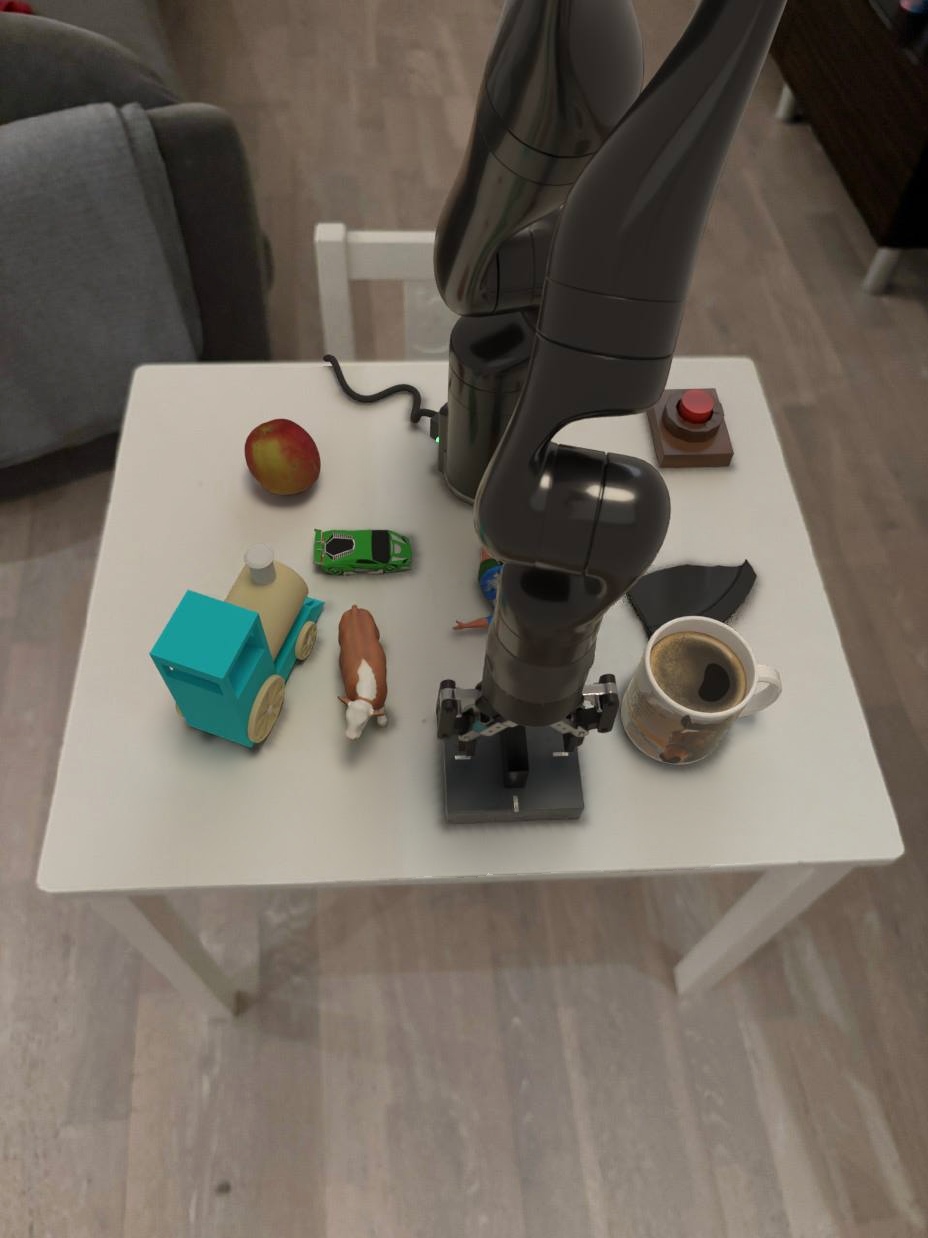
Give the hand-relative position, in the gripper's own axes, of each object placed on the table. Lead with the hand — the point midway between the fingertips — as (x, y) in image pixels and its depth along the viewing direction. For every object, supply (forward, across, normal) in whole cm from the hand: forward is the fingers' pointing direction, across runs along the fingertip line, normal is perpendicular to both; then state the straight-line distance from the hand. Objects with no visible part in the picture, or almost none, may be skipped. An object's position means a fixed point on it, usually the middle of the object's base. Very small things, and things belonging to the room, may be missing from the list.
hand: (518, 744), depth 78 cm
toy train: (+6, +24, -12) cm, 27 cm away
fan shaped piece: (+6, -20, -17) cm, 27 cm away
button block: (+6, -24, -40) cm, 47 cm away
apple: (+6, +22, -34) cm, 41 cm away
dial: (+3, 0, 0) cm, 3 cm away
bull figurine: (+6, +13, -8) cm, 17 cm away
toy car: (+6, +14, -24) cm, 29 cm away
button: (+2, -24, -40) cm, 47 cm away
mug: (+6, -17, -4) cm, 19 cm away
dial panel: (+6, 0, 0) cm, 6 cm away
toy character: (+6, -1, -18) cm, 19 cm away
